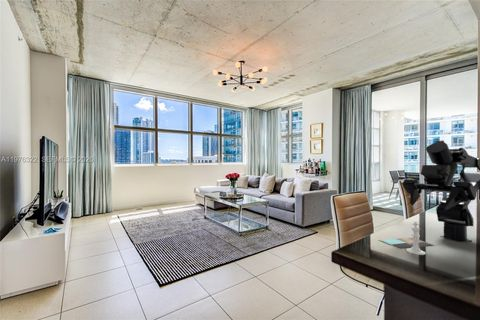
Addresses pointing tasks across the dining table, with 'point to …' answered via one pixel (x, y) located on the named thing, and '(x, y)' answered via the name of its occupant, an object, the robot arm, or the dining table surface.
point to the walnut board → (408, 241)
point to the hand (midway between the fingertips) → (427, 206)
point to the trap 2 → (423, 244)
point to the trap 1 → (403, 245)
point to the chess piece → (415, 241)
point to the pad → (393, 241)
